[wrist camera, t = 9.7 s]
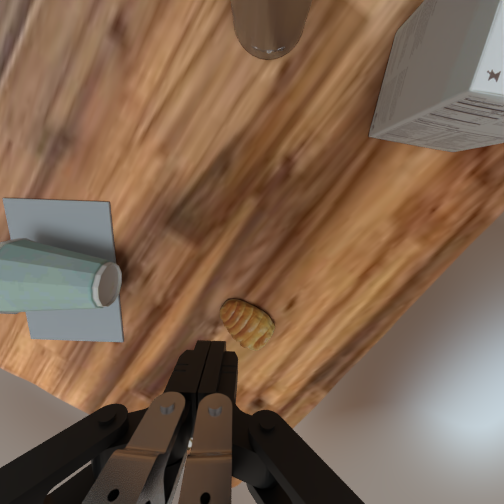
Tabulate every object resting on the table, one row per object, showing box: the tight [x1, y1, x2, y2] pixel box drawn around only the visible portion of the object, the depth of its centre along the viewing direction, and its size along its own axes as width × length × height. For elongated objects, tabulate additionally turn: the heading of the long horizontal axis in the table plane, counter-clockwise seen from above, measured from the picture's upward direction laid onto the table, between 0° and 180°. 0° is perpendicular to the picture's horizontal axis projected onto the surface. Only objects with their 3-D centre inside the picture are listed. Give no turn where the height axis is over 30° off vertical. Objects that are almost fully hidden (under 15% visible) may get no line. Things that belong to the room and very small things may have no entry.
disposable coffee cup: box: [0, 238, 122, 314], centre depth 35 cm, size 11×11×15 cm
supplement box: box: [369, 0, 504, 152], centre depth 26 cm, size 13×13×18 cm
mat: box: [3, 198, 124, 342], centre depth 41 cm, size 24×16×1 cm, turn 178°
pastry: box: [220, 299, 275, 351], centre depth 41 cm, size 9×7×4 cm
